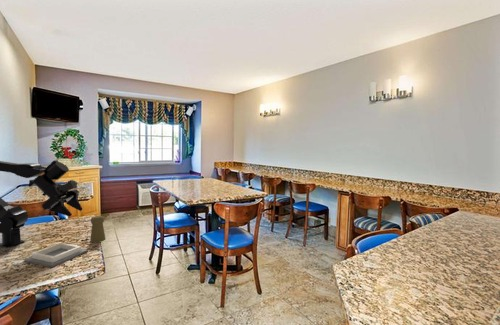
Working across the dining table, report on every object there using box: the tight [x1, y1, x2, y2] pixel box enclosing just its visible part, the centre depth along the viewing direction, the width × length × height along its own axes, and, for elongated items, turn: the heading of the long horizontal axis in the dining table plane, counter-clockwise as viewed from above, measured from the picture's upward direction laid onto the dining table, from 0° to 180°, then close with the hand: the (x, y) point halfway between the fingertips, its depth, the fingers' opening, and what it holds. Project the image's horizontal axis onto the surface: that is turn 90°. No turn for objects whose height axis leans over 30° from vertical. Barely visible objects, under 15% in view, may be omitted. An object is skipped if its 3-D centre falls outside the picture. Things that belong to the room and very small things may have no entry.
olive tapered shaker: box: [89, 215, 106, 244], centre depth 116 cm, size 6×6×11 cm
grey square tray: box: [23, 242, 88, 268], centre depth 99 cm, size 14×14×3 cm
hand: (76, 212), depth 113 cm, fingers open, 9 cm apart
